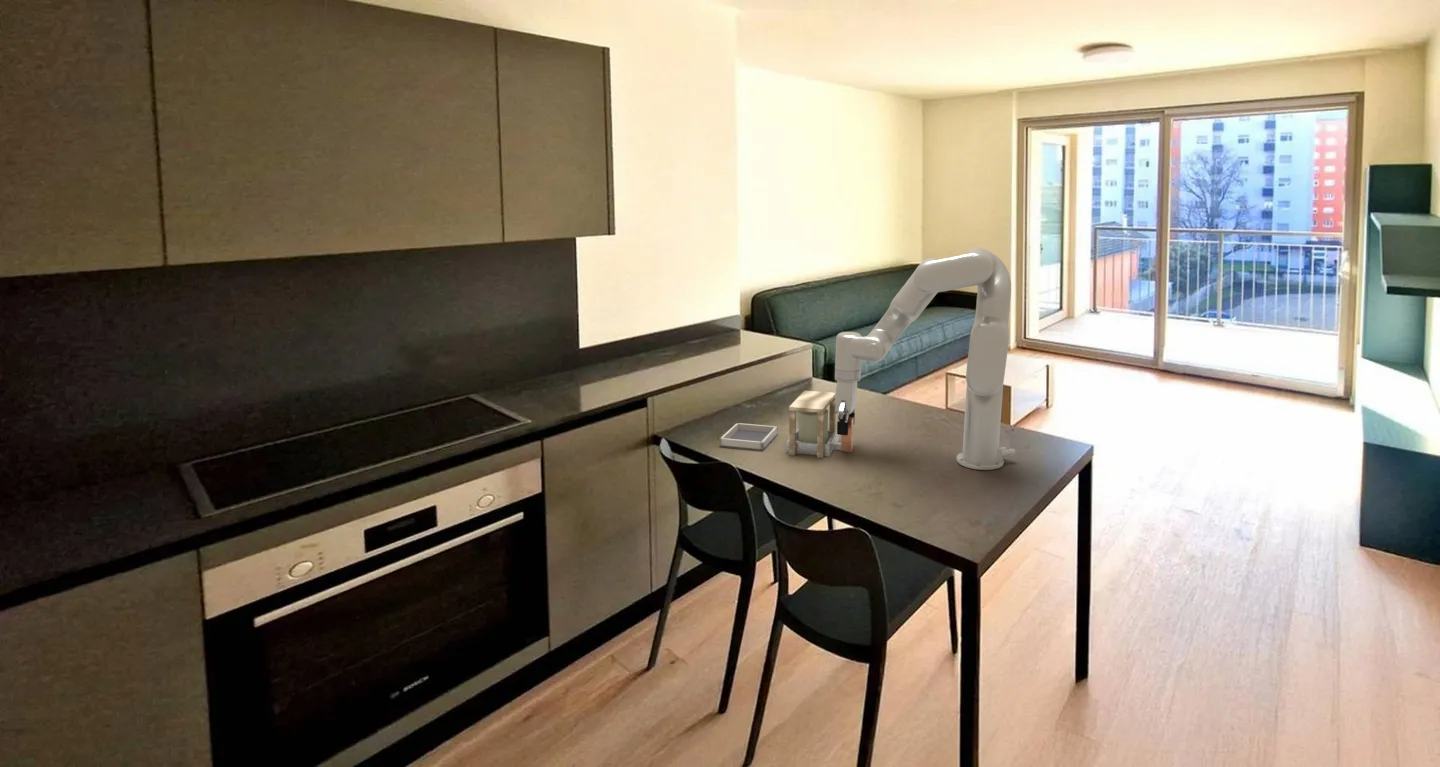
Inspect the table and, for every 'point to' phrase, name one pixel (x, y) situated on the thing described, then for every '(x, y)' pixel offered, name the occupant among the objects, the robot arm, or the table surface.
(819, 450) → the wooden stool
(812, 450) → the shallow grey tray
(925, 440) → the table surface
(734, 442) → the tray
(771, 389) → the table surface
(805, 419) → the can
